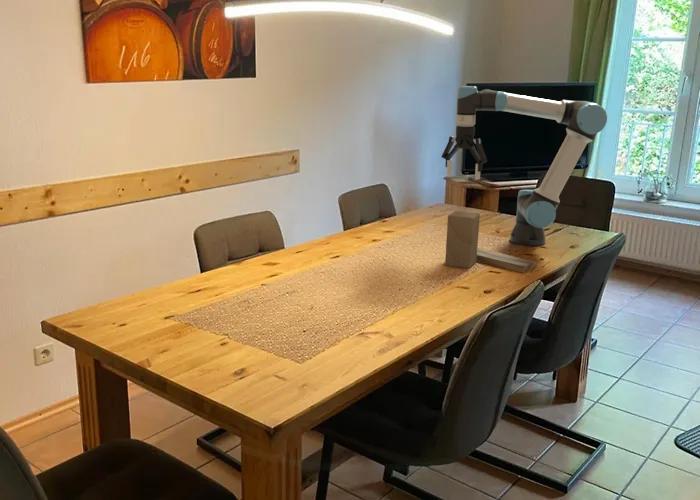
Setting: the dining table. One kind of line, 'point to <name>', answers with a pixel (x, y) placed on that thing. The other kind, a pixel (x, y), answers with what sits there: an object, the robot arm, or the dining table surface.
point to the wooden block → (462, 239)
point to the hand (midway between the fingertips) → (463, 177)
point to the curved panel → (504, 260)
